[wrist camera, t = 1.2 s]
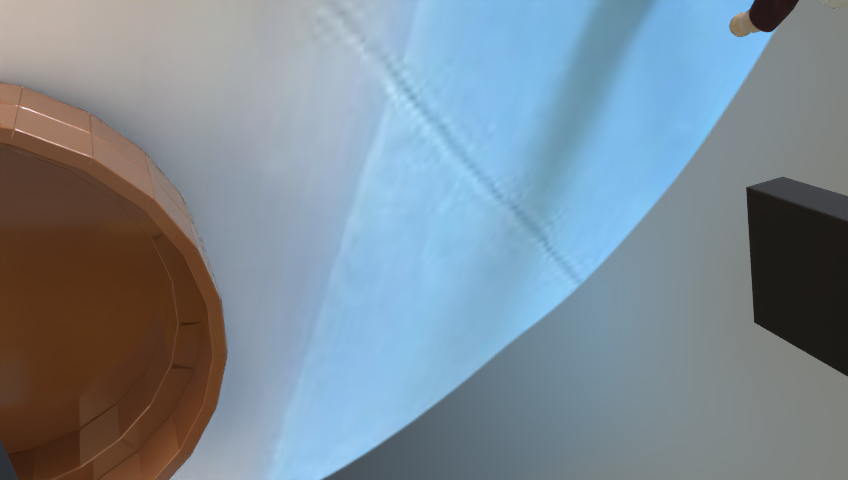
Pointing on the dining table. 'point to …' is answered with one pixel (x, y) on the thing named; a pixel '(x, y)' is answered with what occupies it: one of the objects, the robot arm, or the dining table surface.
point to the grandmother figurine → (769, 15)
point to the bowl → (98, 302)
